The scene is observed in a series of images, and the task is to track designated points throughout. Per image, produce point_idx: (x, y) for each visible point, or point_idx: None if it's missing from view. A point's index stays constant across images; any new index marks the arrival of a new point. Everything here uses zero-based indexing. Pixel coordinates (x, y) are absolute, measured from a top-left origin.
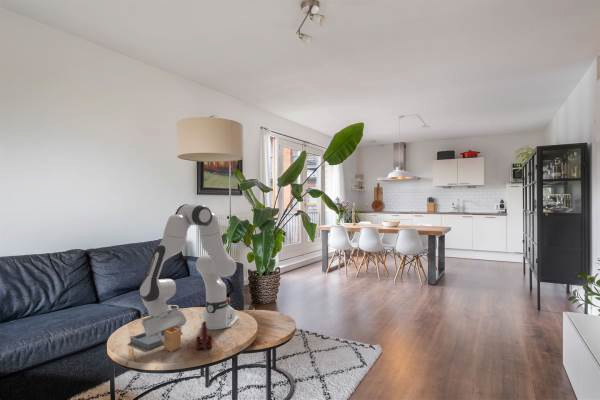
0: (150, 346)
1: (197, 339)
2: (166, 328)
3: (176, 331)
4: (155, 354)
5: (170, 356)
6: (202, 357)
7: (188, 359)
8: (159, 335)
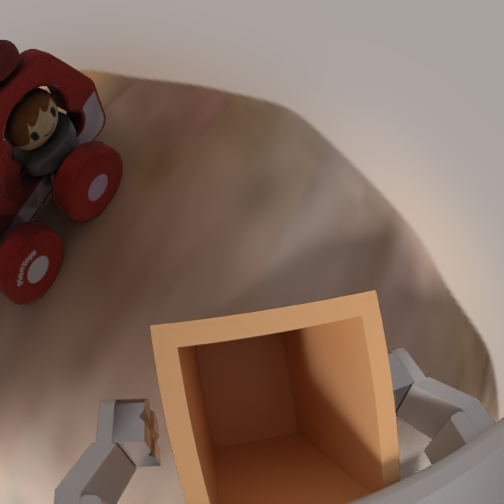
0: None
1: (39, 233)
2: (395, 490)
3: (254, 314)
4: None
5: (324, 252)
6: (172, 84)
7: (249, 117)
8: (468, 397)
